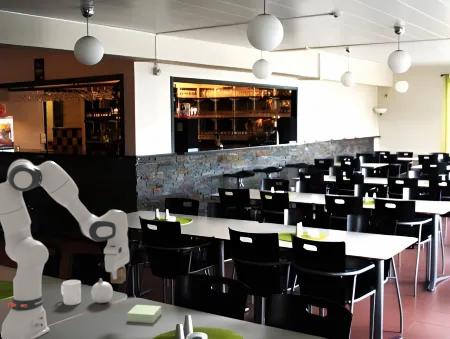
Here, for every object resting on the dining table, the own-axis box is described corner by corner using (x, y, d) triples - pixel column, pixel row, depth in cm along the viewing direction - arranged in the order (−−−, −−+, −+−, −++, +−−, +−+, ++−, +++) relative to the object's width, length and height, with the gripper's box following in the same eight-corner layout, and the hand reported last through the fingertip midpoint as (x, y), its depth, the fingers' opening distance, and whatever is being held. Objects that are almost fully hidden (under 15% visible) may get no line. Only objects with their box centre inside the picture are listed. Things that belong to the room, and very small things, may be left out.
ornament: (91, 306, 263) (91, 282, 262) (91, 300, 273) (90, 276, 272) (113, 305, 266) (113, 280, 265) (112, 298, 276) (111, 274, 275)
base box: (153, 323, 242) (153, 314, 242) (127, 322, 244) (127, 313, 244) (161, 314, 254) (161, 306, 254) (136, 313, 256) (136, 304, 256)
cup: (71, 306, 264) (71, 285, 263) (54, 301, 271) (54, 281, 270) (84, 301, 271) (84, 281, 270) (68, 297, 277) (67, 277, 277)
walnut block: (121, 283, 243) (121, 270, 243) (110, 282, 244) (110, 269, 243) (125, 280, 248) (125, 267, 247) (115, 279, 249) (114, 266, 248)
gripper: (119, 241, 255) (119, 270, 256) (102, 250, 235) (102, 282, 236) (132, 241, 254) (132, 271, 255) (116, 251, 234) (116, 283, 235)
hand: (118, 277), depth 246 cm, fingers closed on walnut block, 5 cm apart
